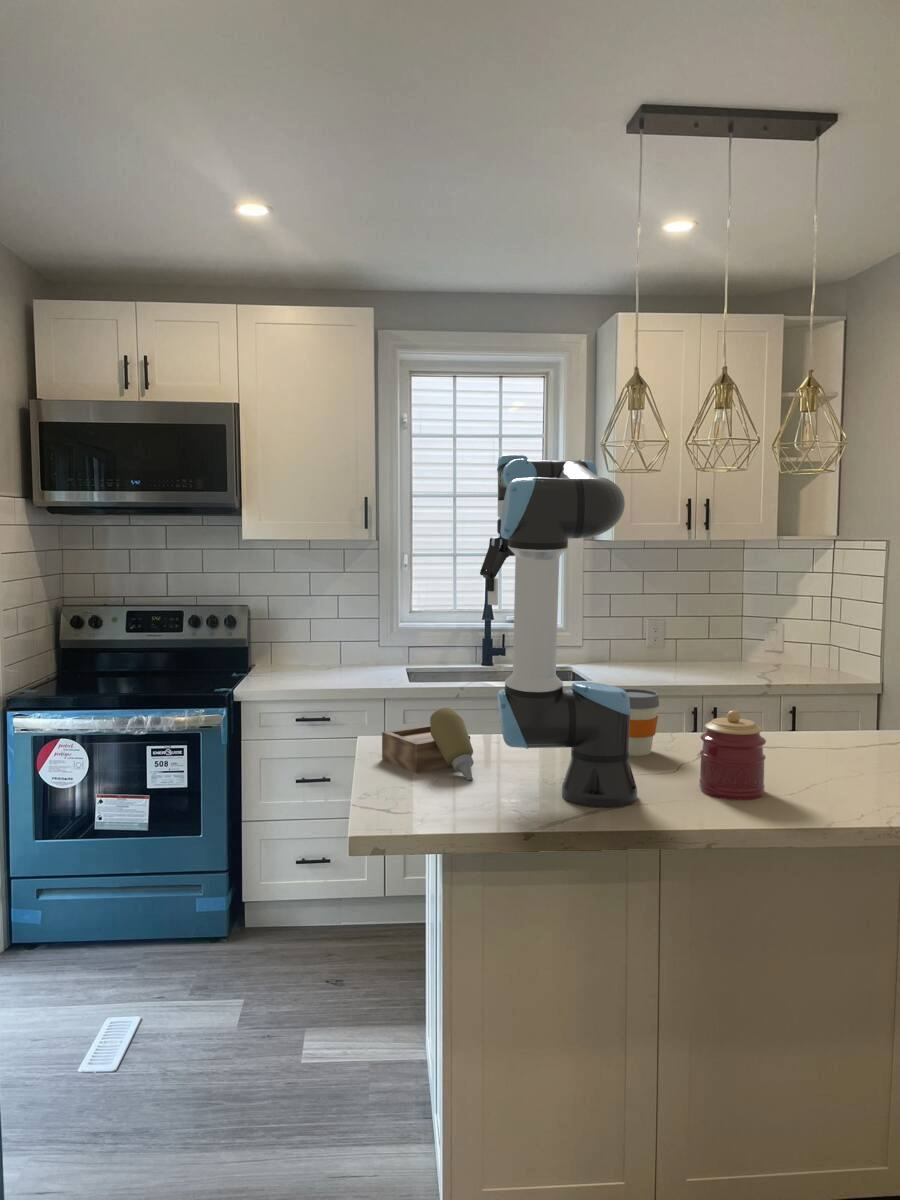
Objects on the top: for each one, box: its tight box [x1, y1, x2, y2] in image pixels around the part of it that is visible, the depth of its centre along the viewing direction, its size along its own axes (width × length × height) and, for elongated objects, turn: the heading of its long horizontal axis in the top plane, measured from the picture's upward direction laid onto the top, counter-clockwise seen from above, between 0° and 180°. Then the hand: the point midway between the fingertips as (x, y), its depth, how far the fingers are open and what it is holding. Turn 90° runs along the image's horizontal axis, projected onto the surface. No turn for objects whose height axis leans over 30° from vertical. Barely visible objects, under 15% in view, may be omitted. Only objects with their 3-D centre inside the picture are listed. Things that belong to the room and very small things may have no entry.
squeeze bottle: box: [429, 707, 474, 782], centre depth 196 cm, size 8×8×18 cm
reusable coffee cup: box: [622, 688, 660, 757], centre depth 216 cm, size 13×13×15 cm
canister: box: [698, 709, 767, 801], centre depth 181 cm, size 13×13×18 cm
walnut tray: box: [381, 724, 471, 774], centre depth 206 cm, size 15×15×7 cm
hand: (511, 603), depth 218 cm, fingers open, 13 cm apart
